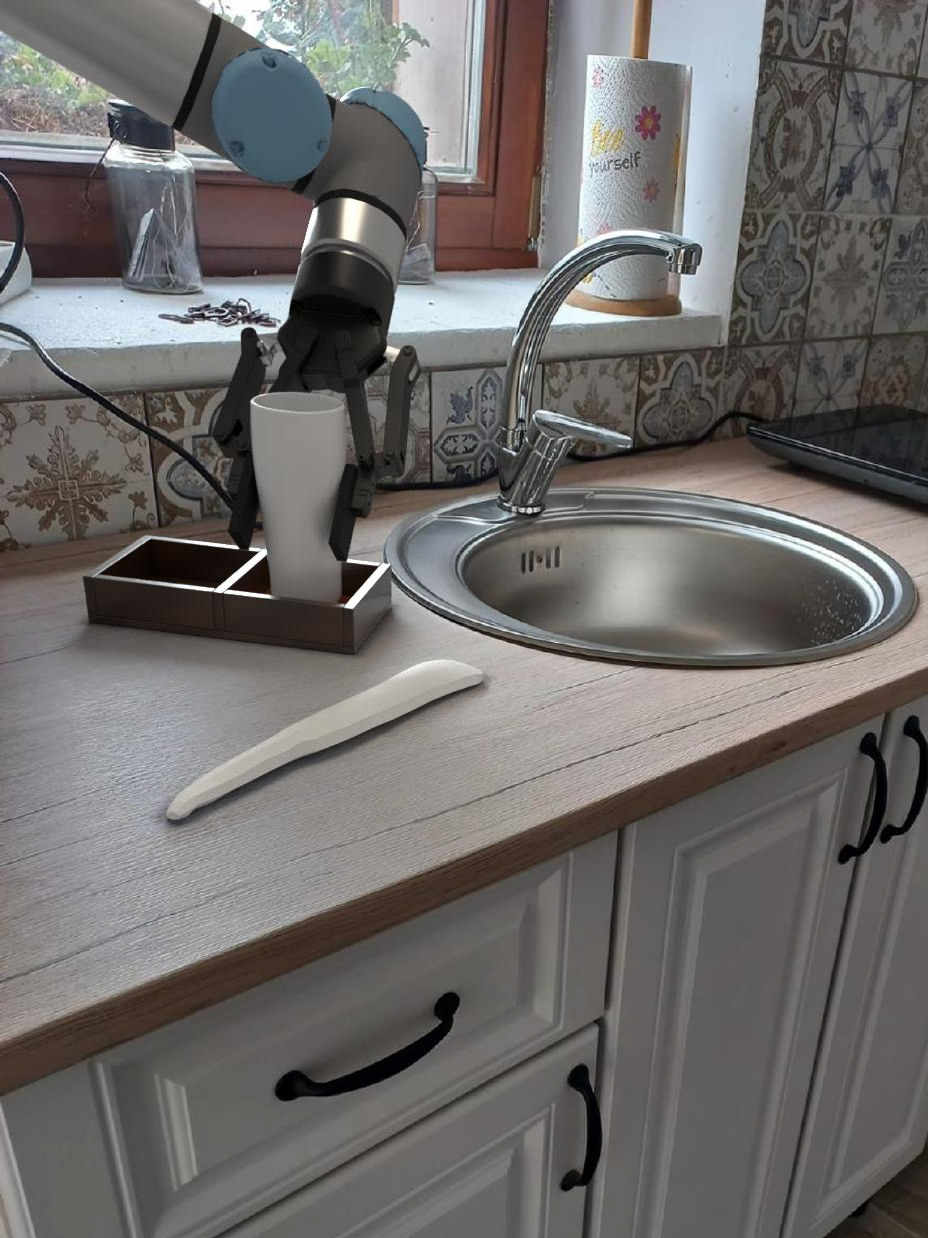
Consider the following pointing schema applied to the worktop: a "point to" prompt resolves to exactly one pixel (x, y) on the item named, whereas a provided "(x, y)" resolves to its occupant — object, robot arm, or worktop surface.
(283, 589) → the drinking glass
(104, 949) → the worktop surface
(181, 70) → the robot arm
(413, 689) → the white long thin piece
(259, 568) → the divided tray
